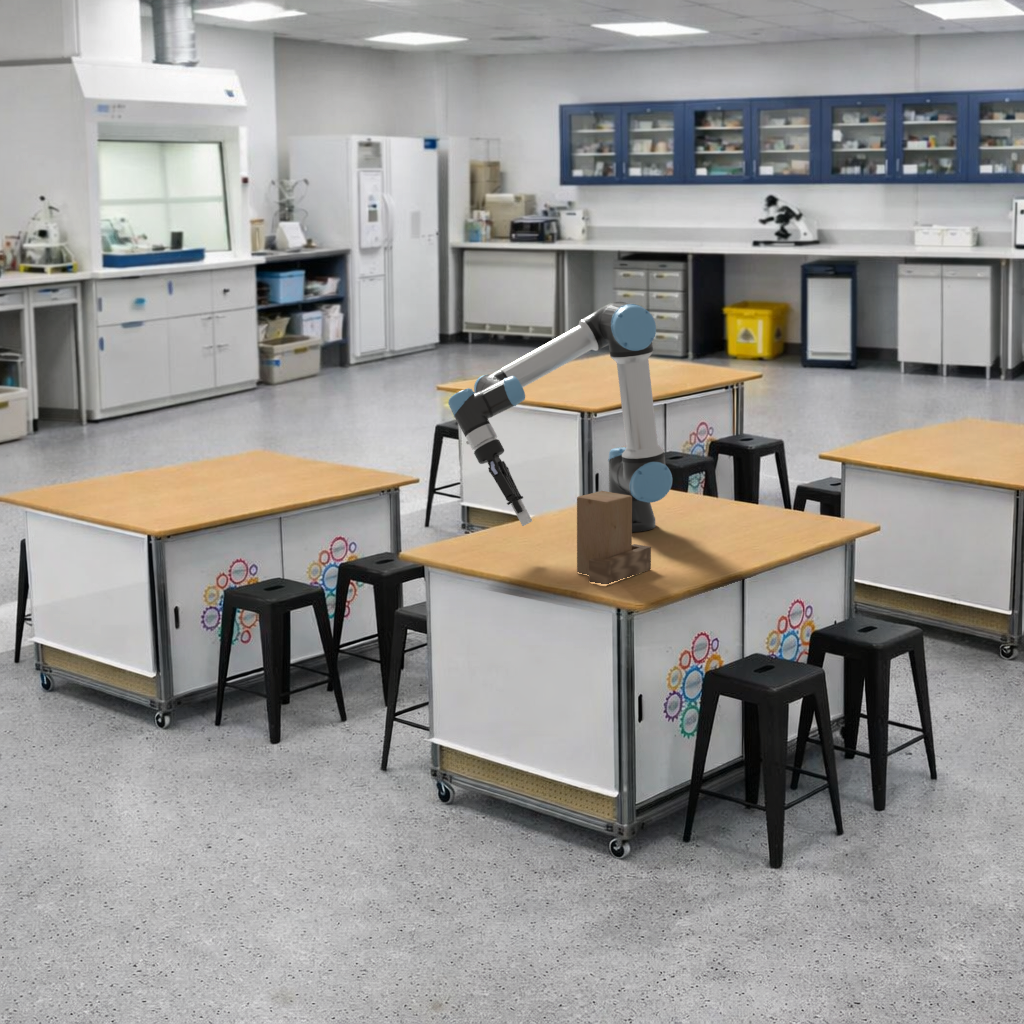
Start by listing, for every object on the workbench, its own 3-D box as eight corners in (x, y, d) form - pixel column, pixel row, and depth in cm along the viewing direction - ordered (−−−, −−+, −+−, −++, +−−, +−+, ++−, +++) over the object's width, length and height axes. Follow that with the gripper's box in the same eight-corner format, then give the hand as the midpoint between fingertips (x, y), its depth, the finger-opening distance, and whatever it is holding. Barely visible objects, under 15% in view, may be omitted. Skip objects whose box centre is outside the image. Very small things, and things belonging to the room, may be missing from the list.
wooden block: (606, 581, 356) (607, 501, 351) (576, 574, 362) (576, 496, 358) (632, 573, 363) (632, 495, 358) (601, 566, 370) (601, 490, 365)
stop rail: (634, 566, 369) (634, 544, 368) (650, 569, 366) (651, 546, 364) (589, 583, 354) (589, 559, 352) (605, 586, 350) (605, 562, 349)
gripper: (479, 452, 386) (520, 530, 384) (467, 450, 374) (509, 530, 371) (503, 439, 385) (544, 516, 382) (491, 436, 372) (534, 516, 370)
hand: (527, 523), depth 377 cm, fingers closed
